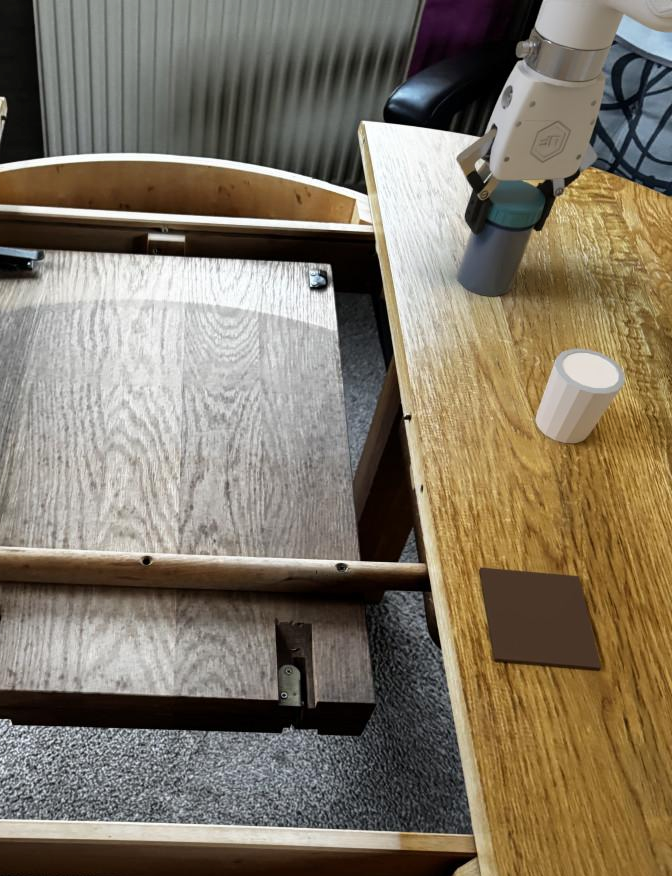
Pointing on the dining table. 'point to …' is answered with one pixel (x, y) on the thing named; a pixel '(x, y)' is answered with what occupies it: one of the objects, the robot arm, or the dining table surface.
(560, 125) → the robot arm
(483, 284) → the jar
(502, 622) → the coaster
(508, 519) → the dining table surface
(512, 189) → the lid
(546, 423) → the white short cylinder
